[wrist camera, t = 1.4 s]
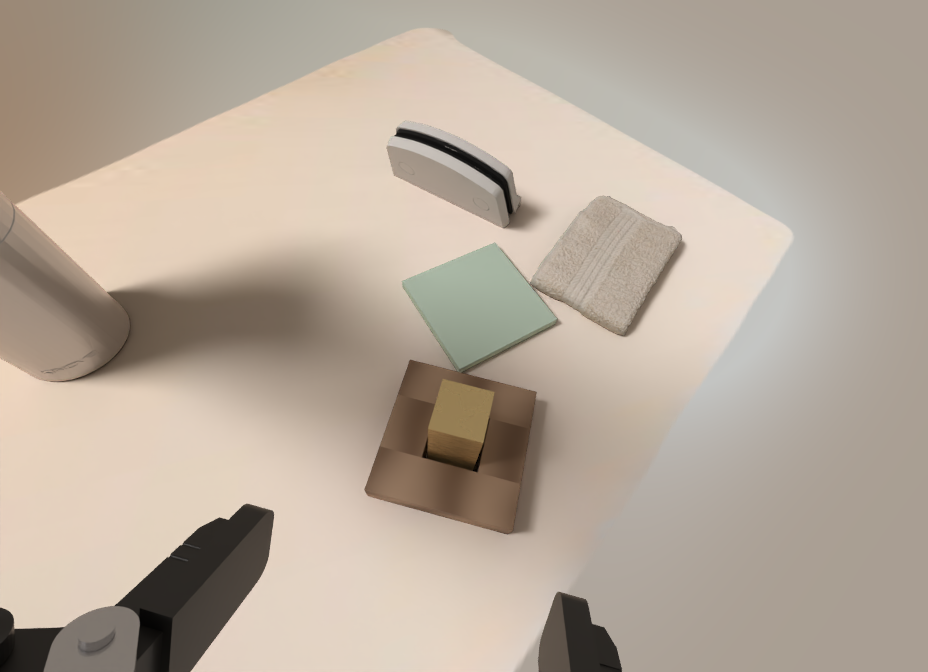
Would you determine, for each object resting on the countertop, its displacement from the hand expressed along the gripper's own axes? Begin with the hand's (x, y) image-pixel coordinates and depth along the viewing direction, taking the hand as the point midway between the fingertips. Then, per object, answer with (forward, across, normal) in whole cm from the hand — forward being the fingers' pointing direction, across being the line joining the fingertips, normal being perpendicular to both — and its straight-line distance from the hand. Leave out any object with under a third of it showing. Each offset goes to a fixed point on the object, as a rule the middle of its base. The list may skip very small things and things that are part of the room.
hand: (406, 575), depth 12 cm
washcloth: (+45, -12, -8) cm, 47 cm away
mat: (+37, +2, -1) cm, 37 cm away
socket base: (+26, 0, +10) cm, 28 cm away
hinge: (+48, +8, -12) cm, 50 cm away
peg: (+26, 0, +10) cm, 28 cm away
